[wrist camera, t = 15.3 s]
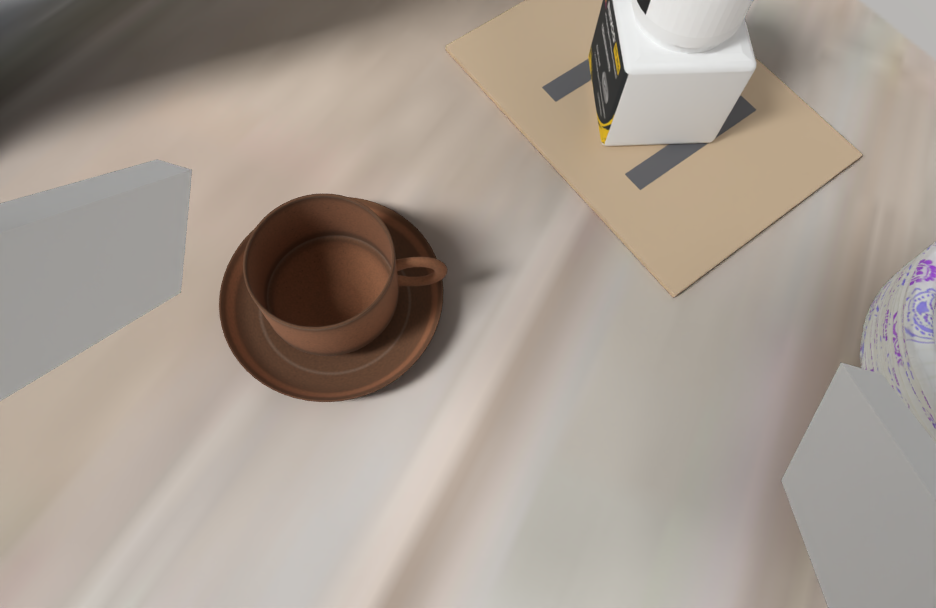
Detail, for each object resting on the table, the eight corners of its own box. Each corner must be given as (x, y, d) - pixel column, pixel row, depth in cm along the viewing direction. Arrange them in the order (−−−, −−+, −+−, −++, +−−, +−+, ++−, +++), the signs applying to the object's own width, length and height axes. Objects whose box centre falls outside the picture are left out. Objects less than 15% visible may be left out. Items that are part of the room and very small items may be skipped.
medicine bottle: (586, 56, 47) (629, -111, 36) (693, 53, 47) (769, -113, 36) (600, 148, 44) (651, -1, 33) (714, 144, 45) (802, -5, 34)
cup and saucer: (394, 185, 44) (386, 123, 38) (478, 356, 40) (483, 316, 34) (201, 258, 42) (163, 203, 36) (270, 447, 38) (238, 419, 32)
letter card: (445, 49, 48) (445, 45, 47) (626, -54, 51) (627, -59, 51) (673, 297, 41) (675, 294, 41) (859, 158, 45) (863, 154, 45)
